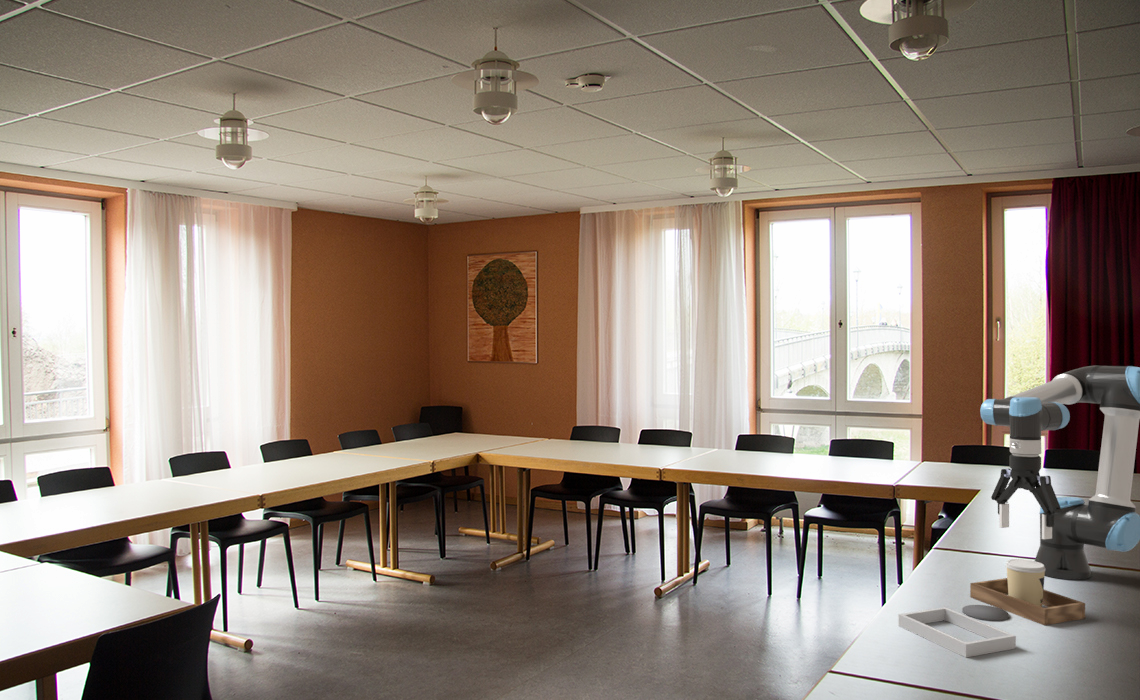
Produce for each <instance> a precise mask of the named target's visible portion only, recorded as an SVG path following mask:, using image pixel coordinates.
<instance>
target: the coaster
mask: <svg viewBox="0 0 1140 700" xmlns="http://www.w3.org/2000/svg"><path fill="white" fill-rule="evenodd" d="M962 614H963V615H965V614H966V616H968V617H970V618H973V619H975V620H979V621H980V620H981V621H989V622H1000V621H1001V622H1002V621H1006V620H1008V619H1009V617H1010V615H1009V612H1008V611H1005V610H1003V609H1000V608H997V607H995V606H992V605H985V604H969V605H965V606H963V607H962Z"/></svg>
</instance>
